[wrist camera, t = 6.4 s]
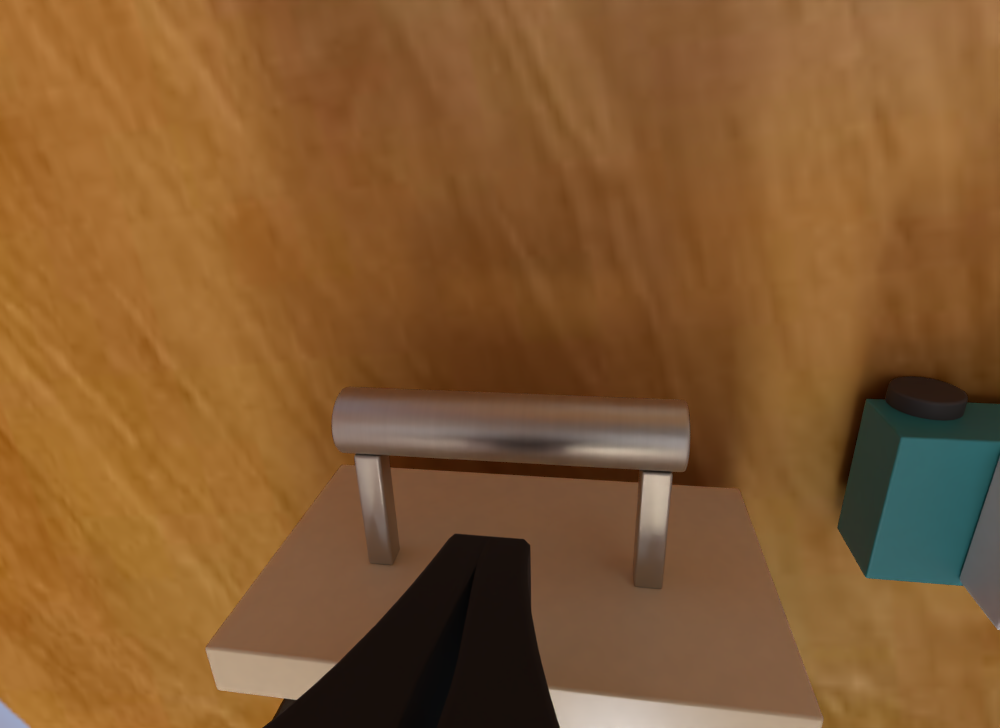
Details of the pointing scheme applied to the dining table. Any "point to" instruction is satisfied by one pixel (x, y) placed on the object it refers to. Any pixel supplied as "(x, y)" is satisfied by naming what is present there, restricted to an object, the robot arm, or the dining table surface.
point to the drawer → (536, 560)
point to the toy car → (927, 490)
